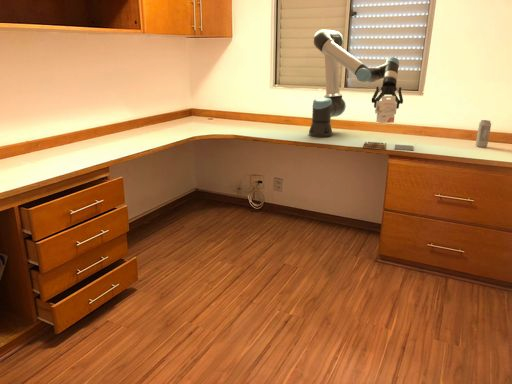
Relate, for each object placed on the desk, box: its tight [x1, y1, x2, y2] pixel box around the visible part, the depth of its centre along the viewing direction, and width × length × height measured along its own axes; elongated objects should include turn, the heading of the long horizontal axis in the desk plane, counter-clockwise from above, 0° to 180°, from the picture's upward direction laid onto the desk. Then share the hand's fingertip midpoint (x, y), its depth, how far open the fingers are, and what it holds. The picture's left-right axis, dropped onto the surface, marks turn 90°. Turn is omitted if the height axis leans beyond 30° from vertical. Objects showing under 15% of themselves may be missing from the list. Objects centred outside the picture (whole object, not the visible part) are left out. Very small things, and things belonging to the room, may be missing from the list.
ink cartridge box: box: [375, 95, 397, 124], centre depth 238 cm, size 9×5×15 cm, turn 101°
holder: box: [362, 141, 387, 150], centre depth 246 cm, size 12×13×2 cm
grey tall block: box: [475, 119, 492, 149], centre depth 243 cm, size 6×6×15 cm
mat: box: [393, 143, 414, 152], centre depth 242 cm, size 10×12×1 cm
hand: (385, 112), depth 236 cm, fingers closed on ink cartridge box, 9 cm apart
